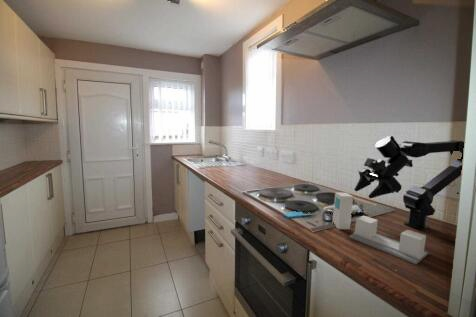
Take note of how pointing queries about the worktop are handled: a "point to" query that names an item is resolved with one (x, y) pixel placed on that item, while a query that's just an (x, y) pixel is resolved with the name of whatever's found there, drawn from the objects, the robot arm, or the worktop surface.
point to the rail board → (390, 240)
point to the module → (342, 210)
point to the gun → (354, 208)
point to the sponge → (294, 214)
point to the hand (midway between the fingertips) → (361, 193)
